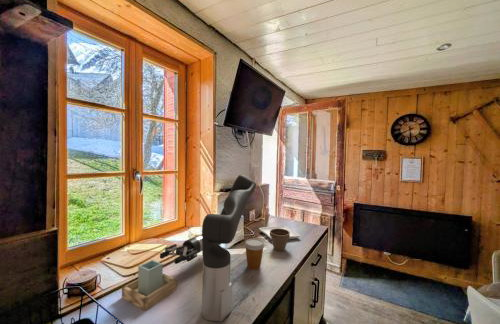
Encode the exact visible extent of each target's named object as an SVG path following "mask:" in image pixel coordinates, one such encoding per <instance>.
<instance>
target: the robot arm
mask: <svg viewBox="0 0 500 324" xmlns="http://www.w3.org/2000/svg"><path fill="white" fill-rule="evenodd" d="M256 187H257V183H256V182H255V181H254V180H253V179H251V178H250V177H248V176H246V175H244V174H239V175H238V176H237V177H236V179H235V181H234V182H233V183H232V186H231V189H230V191H229V194H228V195H227V197H226V198H225V199H224V202H223V208H222V210H221V212H220V214H216V213H207V214H206V215H205V216H204V218H203V221H202V225H201V234H199V235H196V236H193V237H192V238H191V237H190V238H188V239H186V240H184V241H183V243H182V245H177V244H176V243H174V244H172V245H170V246H167V247H165V248H164V251H163V252H161V253H160V254H159V259H164V258H166V257H169V256H172V257H175V258H174V262H173V263H174V264H175V265H177V264H179V263H182V262H185V261H186V262H189V263H190V262H191V261H192V260H193V259H195V258H197V257H198V253H200V252H201V253H202V281H201V282H202V284H201V288H202V289H201V291H202V293H201V295H202V296H201V315H202V318H204V319H205V320H207V321H212V322H220V323H221V322H222V321H224V319H226V317H227V316H228V315H229V314H230V313H231V312H232V305H233V304H232V303H233V283H231V259H232V257H231V252H230V251H228V250H227V249H226V248H224V247H222V246H221V245H223V244H224V245H227V244H228V245H229V244H231V243H232V242H233V240H234V239H235V236H236V234H237V231H238V227H239V223H240V221H241V218H242V217H243V215H244V212H245V211H246V208H247V206H248V203H249V201H250V198H251V196H252V195H253V193H254V192H255V190H256ZM176 256H177V257H176Z"/></svg>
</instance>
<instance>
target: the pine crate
mask: <svg viewBox="0 0 500 324" xmlns="http://www.w3.org/2000/svg"><path fill="white" fill-rule="evenodd" d="M121 287H122V288H121V298H122V299H123V300H125V301H126V302H128V303H129V304H132V305H134V306H135V307H138V308H140V309H141V310H143V311H147V310H149V308H151V307H153V306H155V305H156V304H157V303H159V302H160V301H162V300H164V298H166V297H167V296H169V295H171V294H172V293H173V292H175V291H176V290H177V289H178V279H177V278H175V277H173V276H170V275H167V274H165V273H162V287H161V288H159V289H157V290H156V291H154V292H153V293H151V294H149V295H148V296H144V295H142V294H140V293H138V278H137V279H135V280H133V281H131V282H128V283H127V284H125V285H123V286H121Z"/></svg>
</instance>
